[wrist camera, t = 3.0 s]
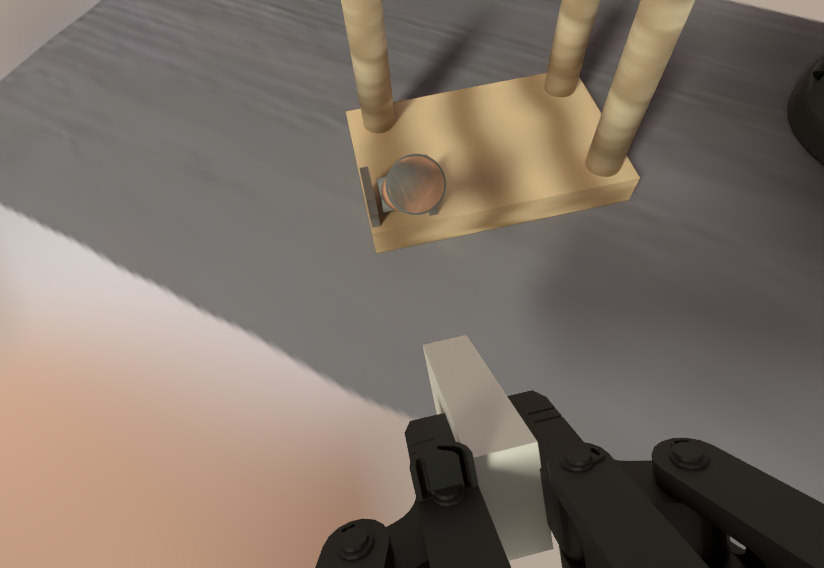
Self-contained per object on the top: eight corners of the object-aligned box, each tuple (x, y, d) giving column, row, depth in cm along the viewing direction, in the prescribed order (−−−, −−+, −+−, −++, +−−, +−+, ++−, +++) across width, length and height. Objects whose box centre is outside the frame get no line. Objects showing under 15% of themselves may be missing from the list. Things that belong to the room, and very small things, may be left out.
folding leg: (413, 168, 36) (439, 148, 23) (420, 207, 36) (451, 208, 23) (375, 176, 35) (380, 160, 22) (383, 214, 36) (393, 220, 23)
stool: (567, 91, 44) (622, -123, 31) (629, 200, 38) (734, -10, 24) (350, 134, 43) (307, -69, 30) (376, 253, 37) (335, 64, 23)
